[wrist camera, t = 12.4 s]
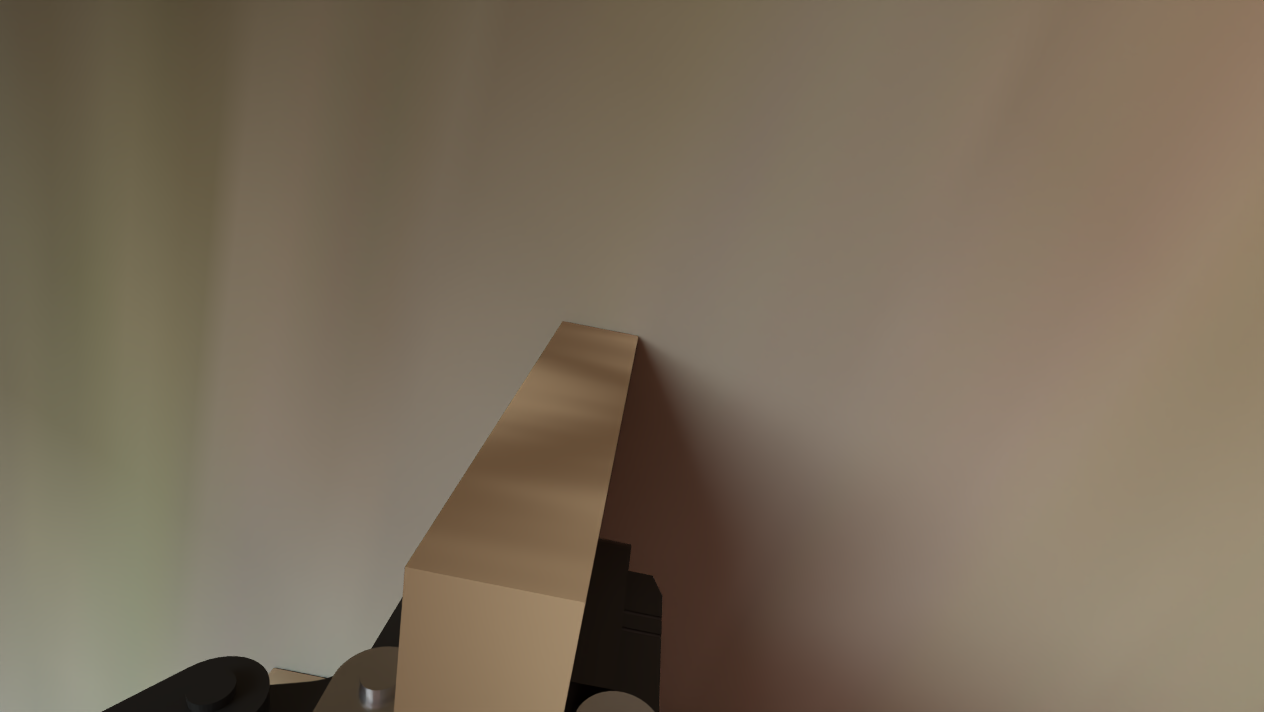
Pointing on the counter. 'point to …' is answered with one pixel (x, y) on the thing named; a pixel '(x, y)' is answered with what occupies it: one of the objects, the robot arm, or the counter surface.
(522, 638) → the tray
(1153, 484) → the counter surface
